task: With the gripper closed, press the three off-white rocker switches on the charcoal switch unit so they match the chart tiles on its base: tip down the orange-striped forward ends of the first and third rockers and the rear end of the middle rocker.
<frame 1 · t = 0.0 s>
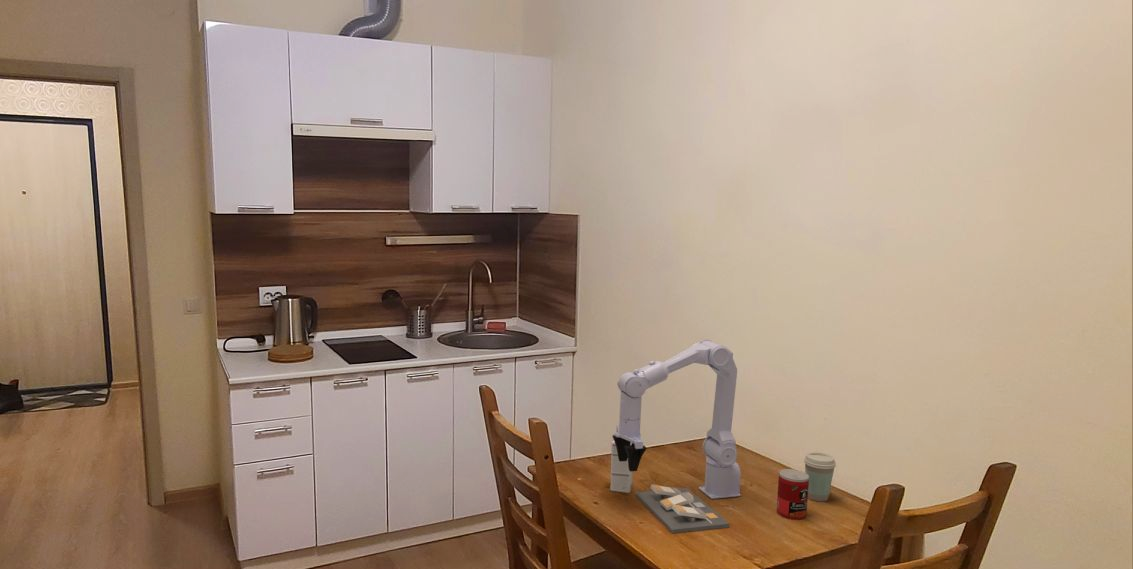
hand: (627, 465, 198), 10 cm above the table, tool pointing down, fingers open, 7 cm apart
syrup box: (620, 489, 208), on the table
rocker b: (677, 500, 193), point 3 cm above the table, hinge at 13.0°
rocker a: (666, 490, 200), point 3 cm above the table, hinge at -13.0°
coffee cup: (817, 498, 207), on the table
rocker c: (689, 511, 187), point 3 cm above the table, hinge at -13.0°
canned food: (791, 514, 195), on the table
switch unit: (680, 510, 194), on the table
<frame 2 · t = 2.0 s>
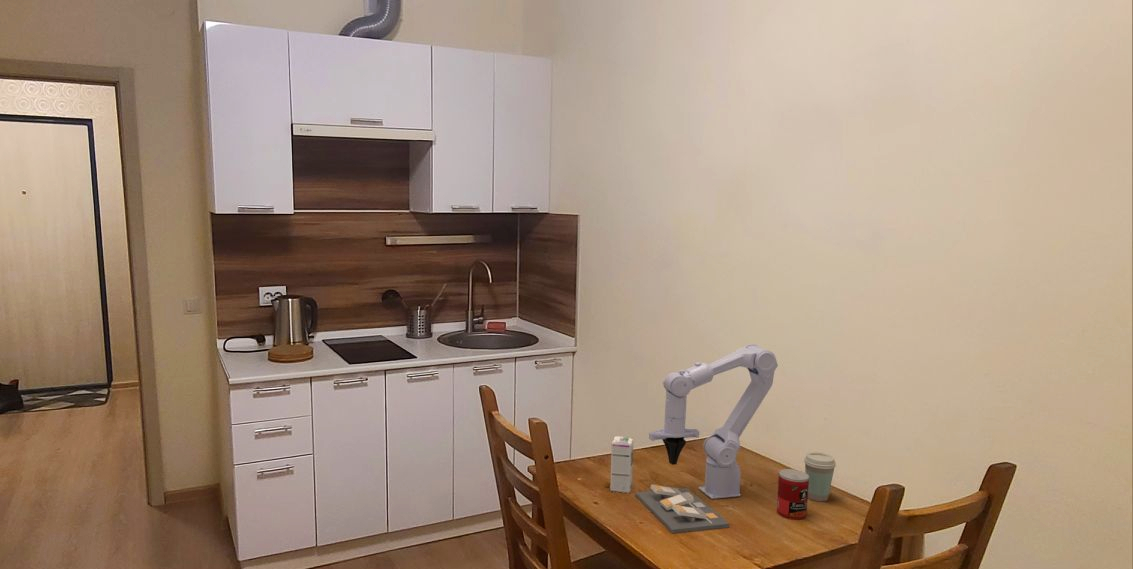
hand: (672, 463, 203), 9 cm above the table, tool pointing down, fingers closed
nothing on the table moved.
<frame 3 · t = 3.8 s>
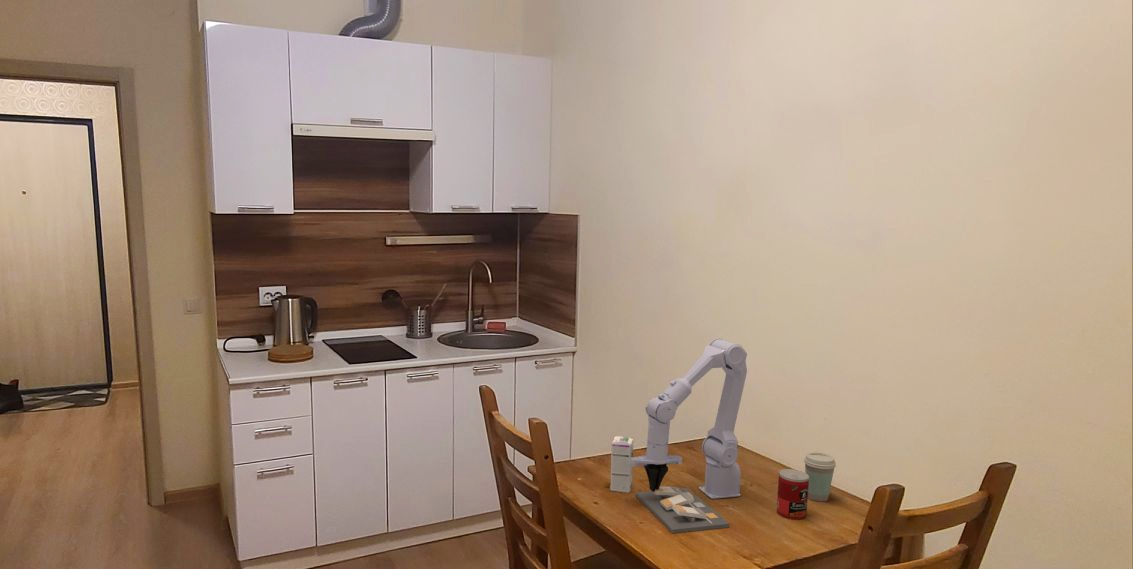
hand: (654, 490, 199), 3 cm above the table, tool pointing down, fingers closed
rocker a: (666, 490, 200), point 3 cm above the table, hinge at -8.1°, touching gripper
everything else where it was.
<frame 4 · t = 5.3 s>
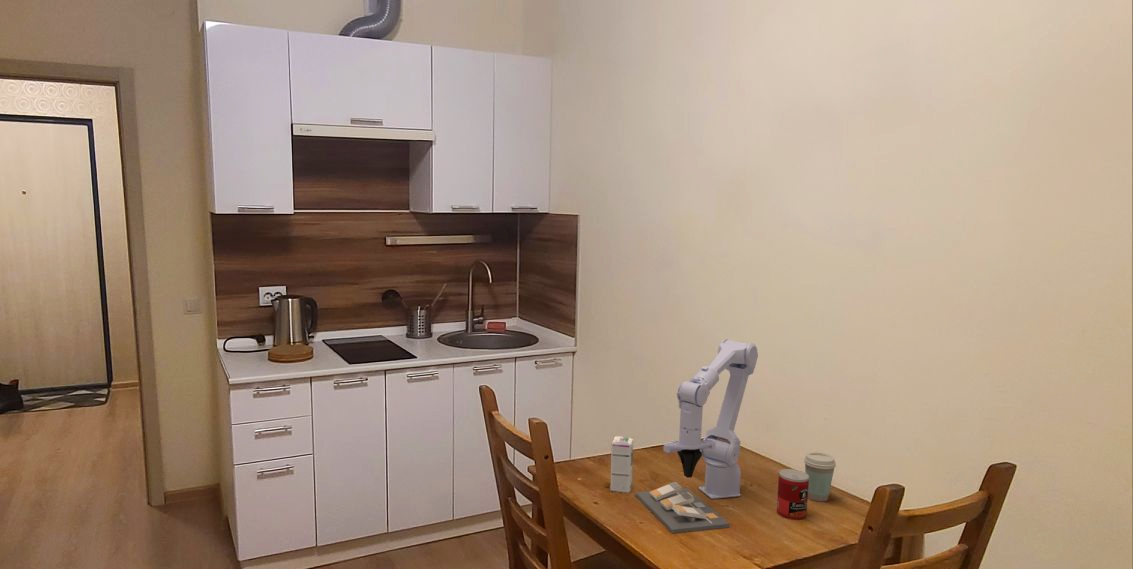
hand: (687, 476, 194), 9 cm above the table, tool pointing down, fingers closed
rocker a: (665, 490, 200), point 3 cm above the table, hinge at 17.4°
everything else where it was.
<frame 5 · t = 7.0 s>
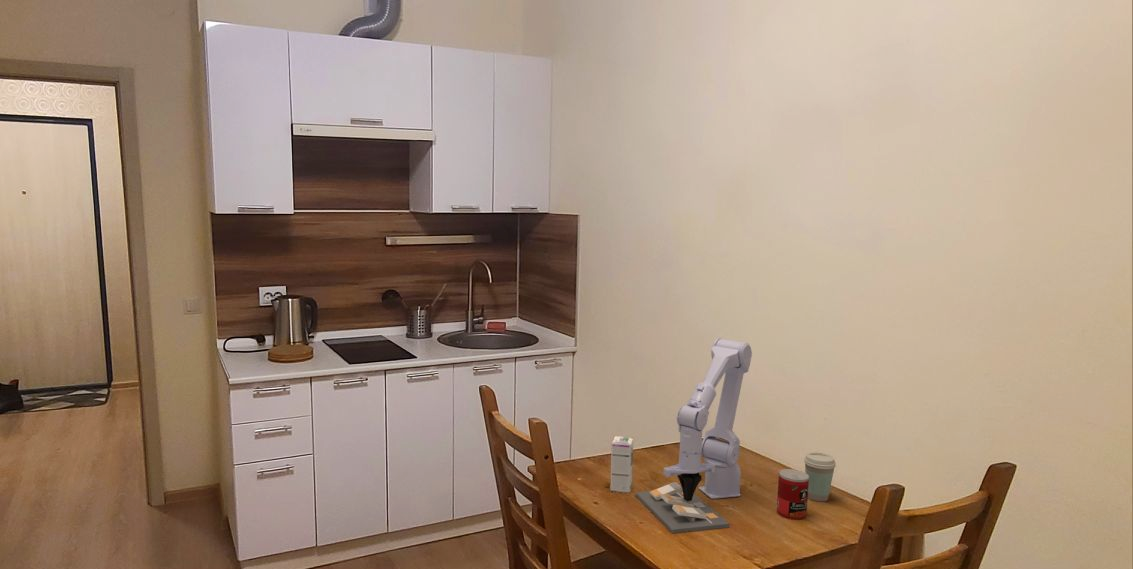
hand: (687, 499, 194), 3 cm above the table, tool pointing down, fingers closed
rocker b: (677, 500, 193), point 3 cm above the table, hinge at -15.5°
rocker a: (665, 490, 200), point 3 cm above the table, hinge at 16.6°
everything else where it was.
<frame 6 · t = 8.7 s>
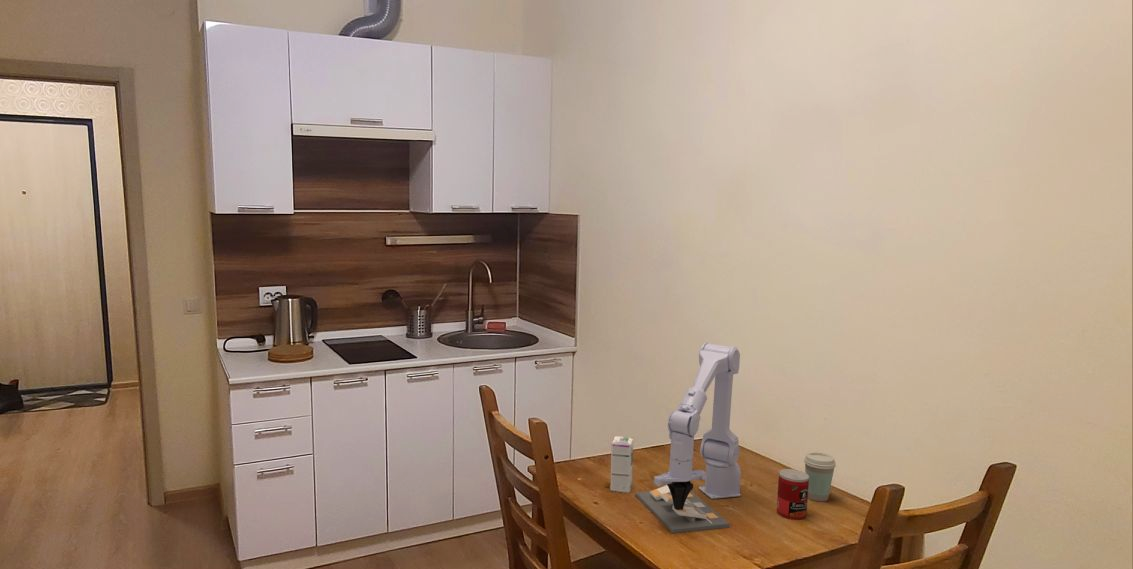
hand: (678, 509, 186), 4 cm above the table, tool pointing down, fingers closed, pressing on rocker c
rocker b: (677, 500, 193), point 3 cm above the table, hinge at -17.8°
rocker c: (689, 511, 187), point 3 cm above the table, hinge at -12.8°, touching gripper
everything else where it was.
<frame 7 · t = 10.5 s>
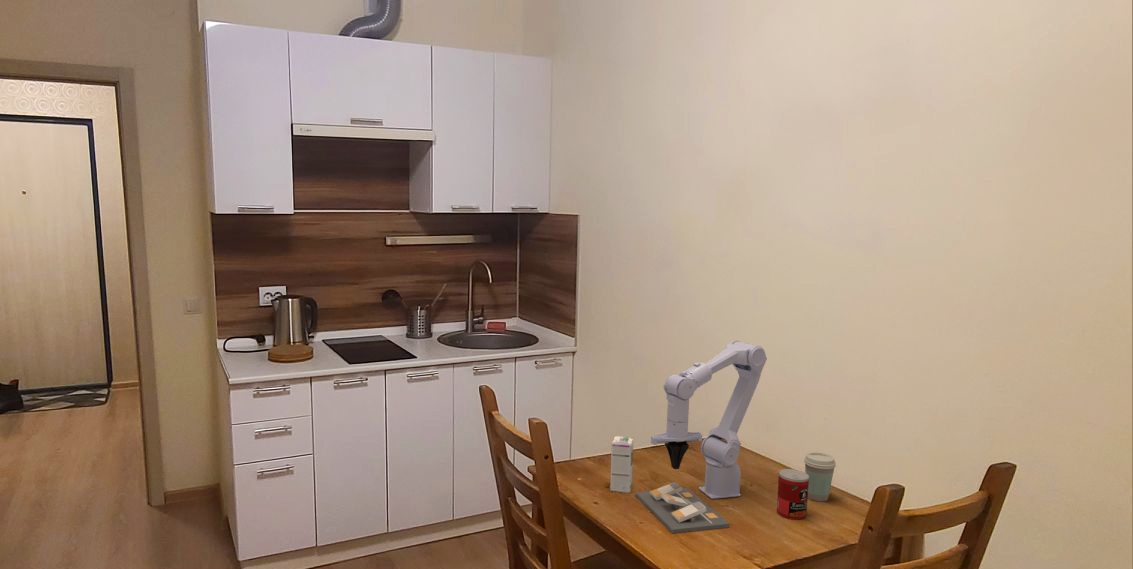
hand: (675, 467, 198), 10 cm above the table, tool pointing down, fingers closed
rocker c: (688, 511, 187), point 3 cm above the table, hinge at 17.4°
everything else where it was.
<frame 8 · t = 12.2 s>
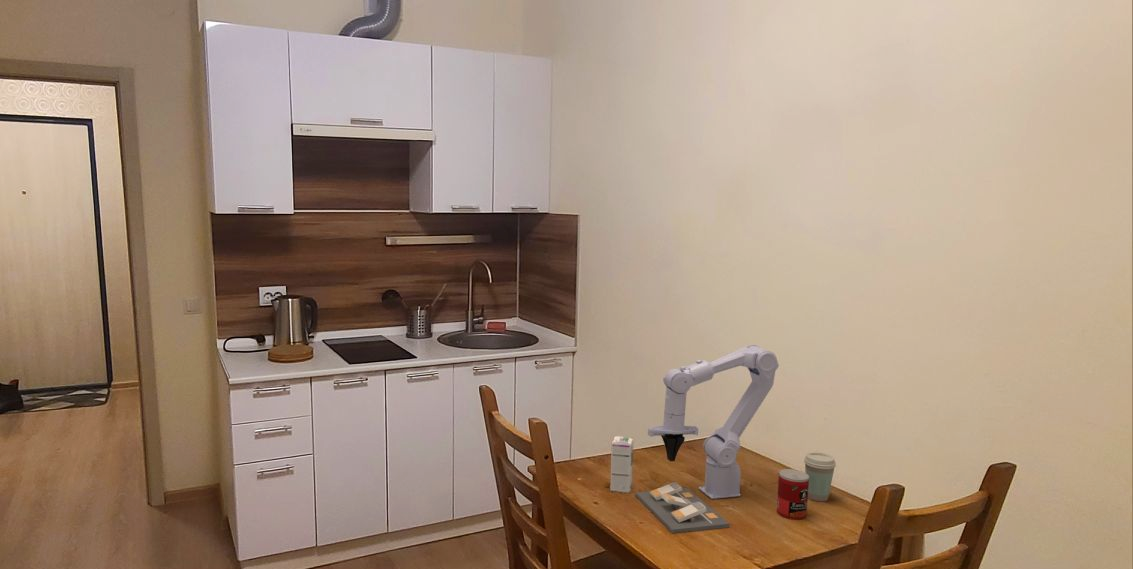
hand: (671, 460, 203), 10 cm above the table, tool pointing down, fingers closed
rocker c: (688, 511, 187), point 3 cm above the table, hinge at 16.5°
everything else where it was.
at the end: rocker a at +16° (first picture: -13°); rocker b at -18° (first picture: +13°); rocker c at +16° (first picture: -13°) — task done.
